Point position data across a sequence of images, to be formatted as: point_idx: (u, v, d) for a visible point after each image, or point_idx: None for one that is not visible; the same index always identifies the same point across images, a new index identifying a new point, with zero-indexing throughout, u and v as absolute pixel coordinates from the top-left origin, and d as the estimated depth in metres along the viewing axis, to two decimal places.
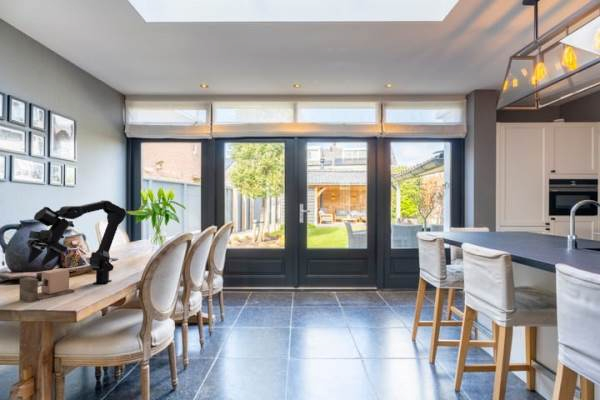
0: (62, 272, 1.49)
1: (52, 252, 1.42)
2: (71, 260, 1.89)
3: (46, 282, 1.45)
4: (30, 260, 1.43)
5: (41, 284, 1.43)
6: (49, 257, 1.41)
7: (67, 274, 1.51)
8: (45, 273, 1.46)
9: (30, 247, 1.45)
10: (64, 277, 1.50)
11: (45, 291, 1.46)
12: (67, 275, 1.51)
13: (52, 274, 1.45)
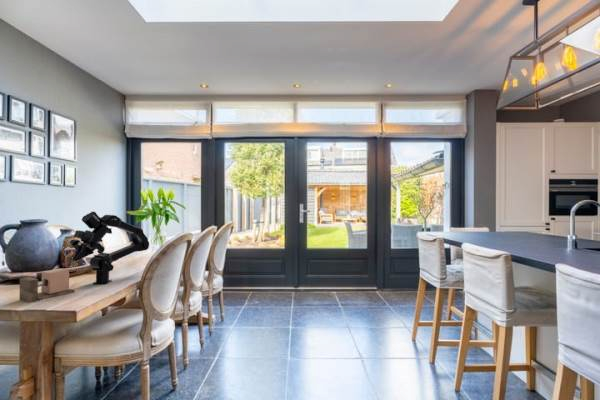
0: (62, 272, 1.49)
1: (85, 250, 1.60)
2: (71, 260, 1.89)
3: (46, 282, 1.45)
4: None
5: (41, 284, 1.43)
6: (82, 254, 1.59)
7: (67, 274, 1.51)
8: (45, 273, 1.46)
9: (77, 246, 1.60)
10: (64, 277, 1.50)
11: (45, 291, 1.46)
12: (67, 275, 1.51)
13: (52, 274, 1.45)
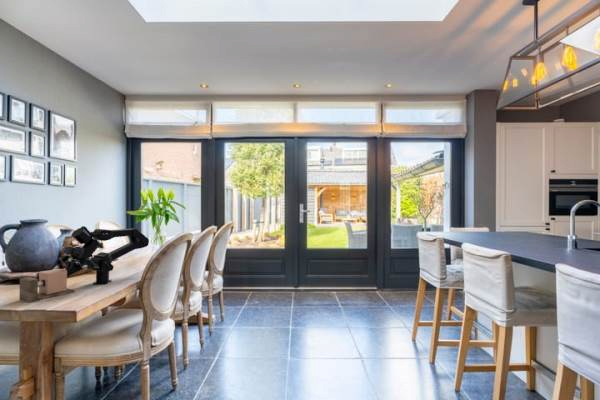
0: (60, 272, 1.48)
1: (74, 267, 1.56)
2: None
3: None
4: None
5: (41, 284, 1.43)
6: (71, 271, 1.54)
7: (65, 274, 1.50)
8: (43, 273, 1.45)
9: (67, 263, 1.56)
10: (62, 277, 1.49)
11: (42, 292, 1.45)
12: (65, 276, 1.50)
13: (50, 274, 1.45)
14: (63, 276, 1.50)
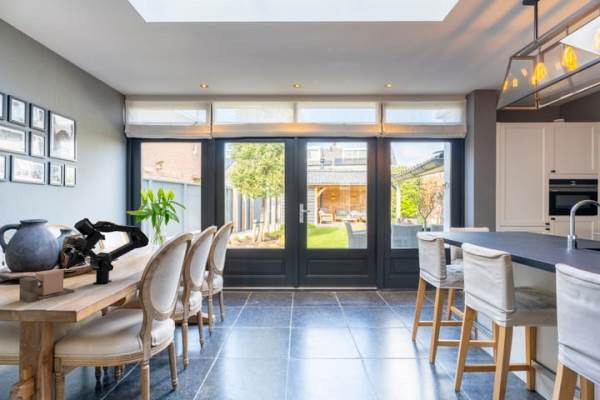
0: (56, 273, 1.47)
1: (77, 258, 1.57)
2: None
3: None
4: None
5: (41, 284, 1.43)
6: (74, 262, 1.56)
7: (61, 275, 1.49)
8: (39, 274, 1.44)
9: (70, 254, 1.57)
10: (58, 278, 1.48)
11: (39, 292, 1.44)
12: (61, 277, 1.49)
13: (46, 275, 1.43)
14: (59, 277, 1.48)
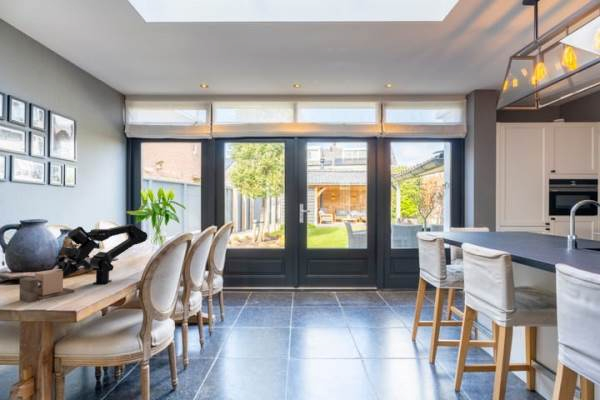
0: (56, 273, 1.47)
1: (71, 267, 1.54)
2: None
3: None
4: None
5: None
6: (67, 272, 1.53)
7: (61, 275, 1.49)
8: (38, 274, 1.43)
9: (63, 263, 1.54)
10: (58, 278, 1.48)
11: (38, 293, 1.43)
12: (61, 277, 1.49)
13: (45, 275, 1.43)
14: (59, 277, 1.48)
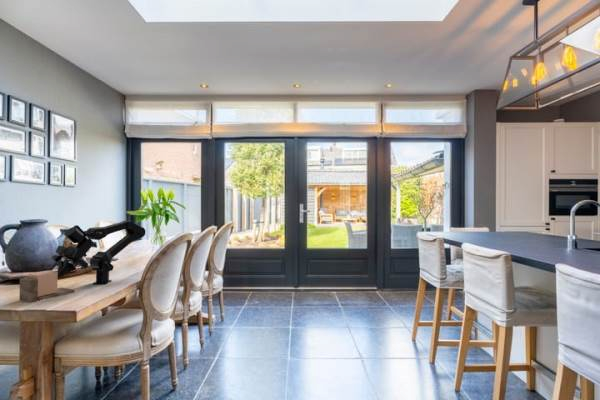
0: (50, 274, 1.45)
1: (67, 266, 1.53)
2: None
3: None
4: (58, 275, 1.50)
5: None
6: (64, 271, 1.52)
7: (55, 276, 1.47)
8: (32, 275, 1.41)
9: (60, 262, 1.53)
10: (52, 279, 1.46)
11: None
12: (56, 278, 1.47)
13: (39, 276, 1.41)
14: (53, 278, 1.46)
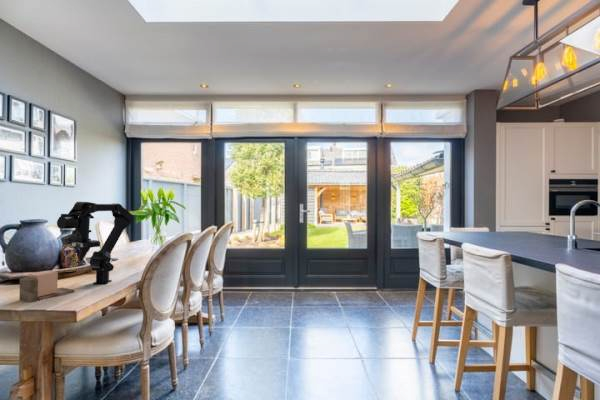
0: (50, 274, 1.45)
1: (83, 248, 1.58)
2: (71, 260, 1.89)
3: None
4: None
5: None
6: (83, 253, 1.58)
7: (55, 276, 1.47)
8: (32, 275, 1.41)
9: (74, 248, 1.57)
10: (52, 279, 1.46)
11: None
12: (56, 278, 1.47)
13: (39, 276, 1.41)
14: (53, 278, 1.46)
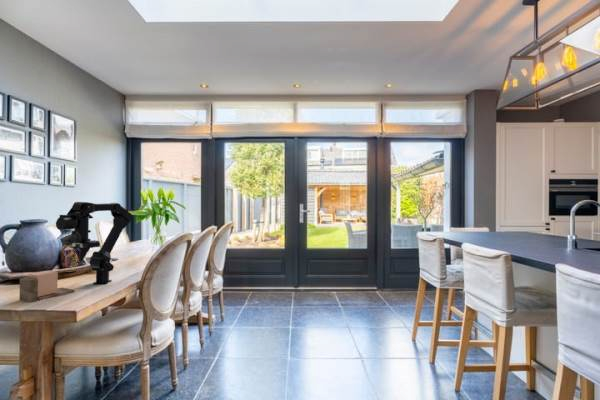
0: (50, 274, 1.45)
1: (83, 249, 1.58)
2: (71, 260, 1.89)
3: None
4: None
5: None
6: (83, 253, 1.58)
7: (55, 276, 1.47)
8: (32, 275, 1.41)
9: (74, 248, 1.57)
10: (52, 279, 1.46)
11: None
12: (56, 278, 1.47)
13: (39, 276, 1.41)
14: (53, 278, 1.46)
